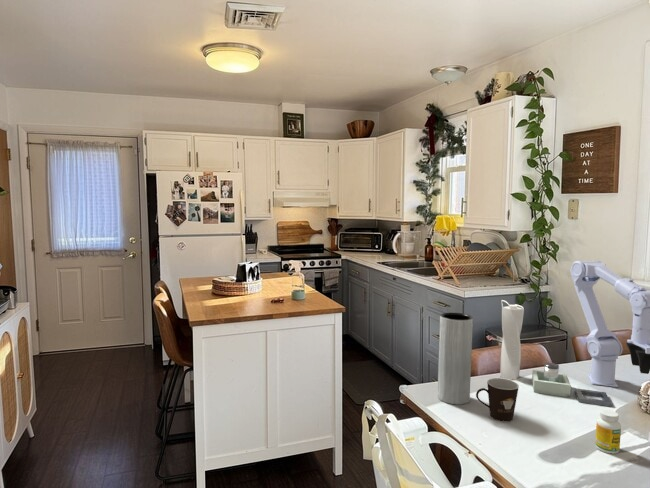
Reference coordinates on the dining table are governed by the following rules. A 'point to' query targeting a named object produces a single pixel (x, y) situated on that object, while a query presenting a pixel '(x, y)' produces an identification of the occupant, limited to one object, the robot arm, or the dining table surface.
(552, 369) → the shiny metal cylinder
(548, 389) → the bin
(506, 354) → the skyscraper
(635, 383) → the dining table surface
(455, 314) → the vase
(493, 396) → the coffee mug
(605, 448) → the supplement bottle
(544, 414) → the dining table surface
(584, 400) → the grey square frame
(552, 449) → the dining table surface
